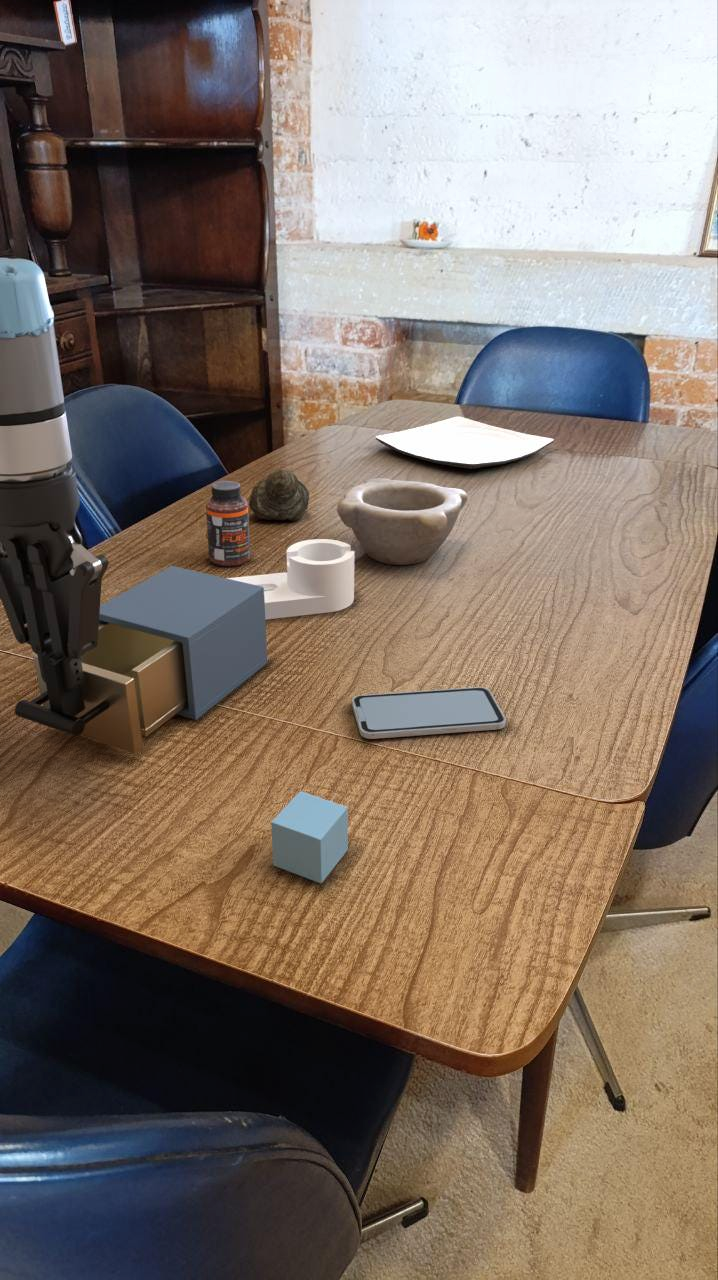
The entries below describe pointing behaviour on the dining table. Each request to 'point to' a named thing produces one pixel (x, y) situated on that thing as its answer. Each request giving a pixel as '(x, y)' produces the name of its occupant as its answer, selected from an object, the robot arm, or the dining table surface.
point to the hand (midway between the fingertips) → (69, 713)
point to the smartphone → (427, 712)
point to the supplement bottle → (227, 525)
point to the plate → (464, 443)
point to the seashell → (279, 497)
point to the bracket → (309, 580)
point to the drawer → (119, 689)
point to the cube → (310, 836)
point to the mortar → (401, 518)
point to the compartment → (199, 628)
